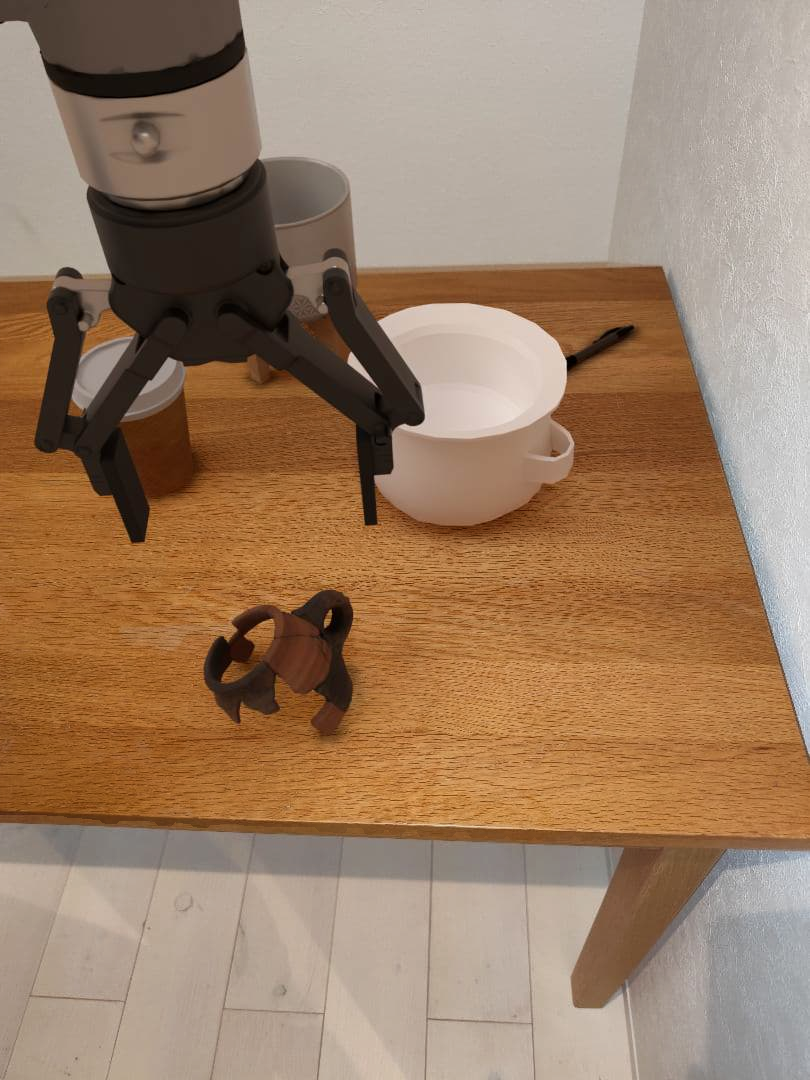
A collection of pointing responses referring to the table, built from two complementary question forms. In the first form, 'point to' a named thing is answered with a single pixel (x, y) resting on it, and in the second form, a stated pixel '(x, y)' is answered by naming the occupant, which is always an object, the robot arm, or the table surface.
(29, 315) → the table surface
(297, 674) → the pottery mug
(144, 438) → the disposable coffee cup
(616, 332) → the pen
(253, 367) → the planter
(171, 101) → the robot arm
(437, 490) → the pot
